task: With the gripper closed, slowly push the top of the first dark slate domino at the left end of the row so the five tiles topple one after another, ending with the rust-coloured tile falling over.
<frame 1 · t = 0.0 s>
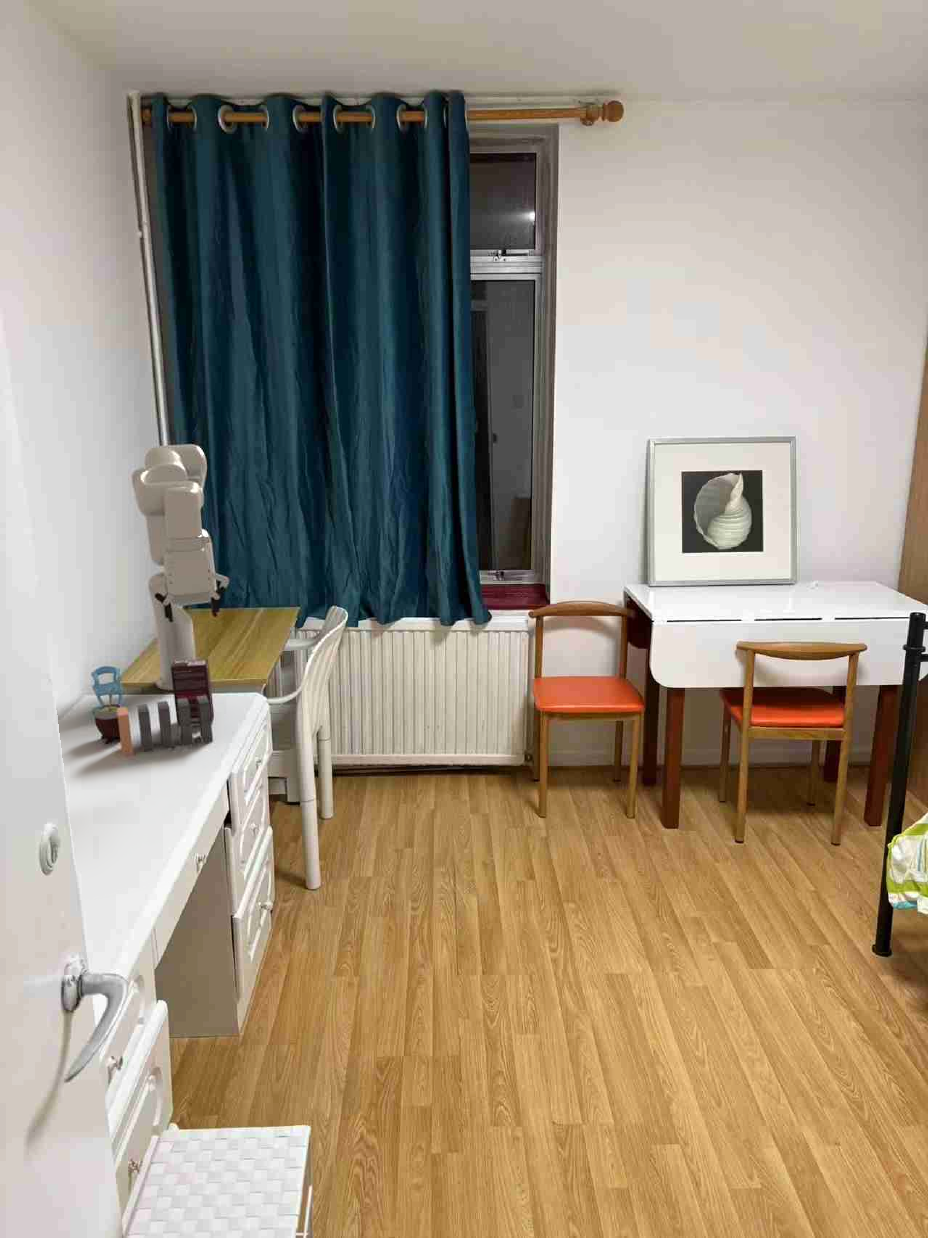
hand: (192, 618, 216), 31 cm above the table, fingers open, 9 cm apart
domino 3: (167, 744, 226), on the table
domino 4: (147, 748, 224), on the table
domino 5 rust: (127, 751, 222), on the table
chair: (111, 713, 244), on the table
supplement box: (195, 723, 238), on the table
domino 2: (187, 741, 227), on the table
mate gourd: (114, 740, 229), on the table
domino 1: (206, 738, 229), on the table
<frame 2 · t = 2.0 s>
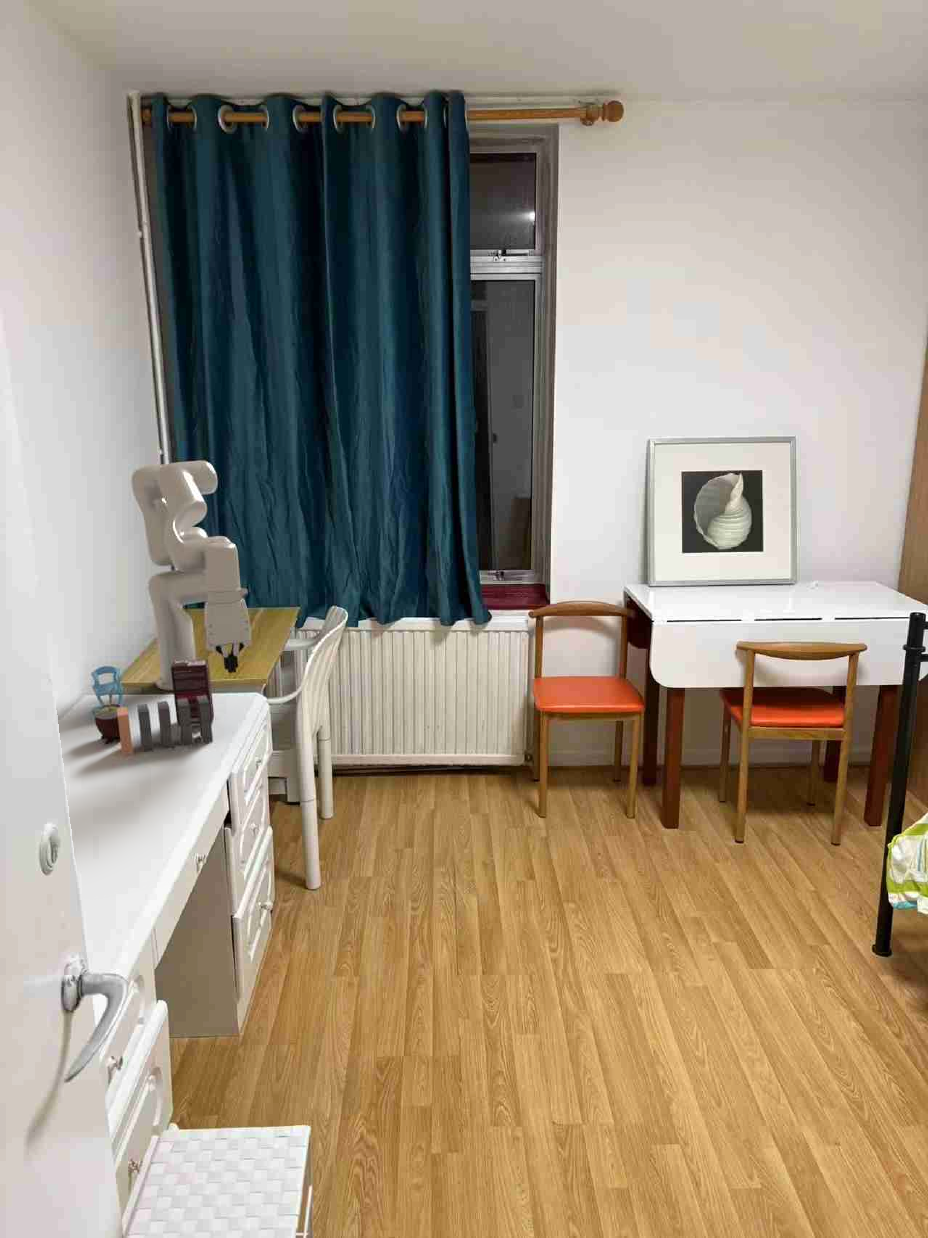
hand: (231, 671, 226), 16 cm above the table, fingers closed
nothing on the table moved.
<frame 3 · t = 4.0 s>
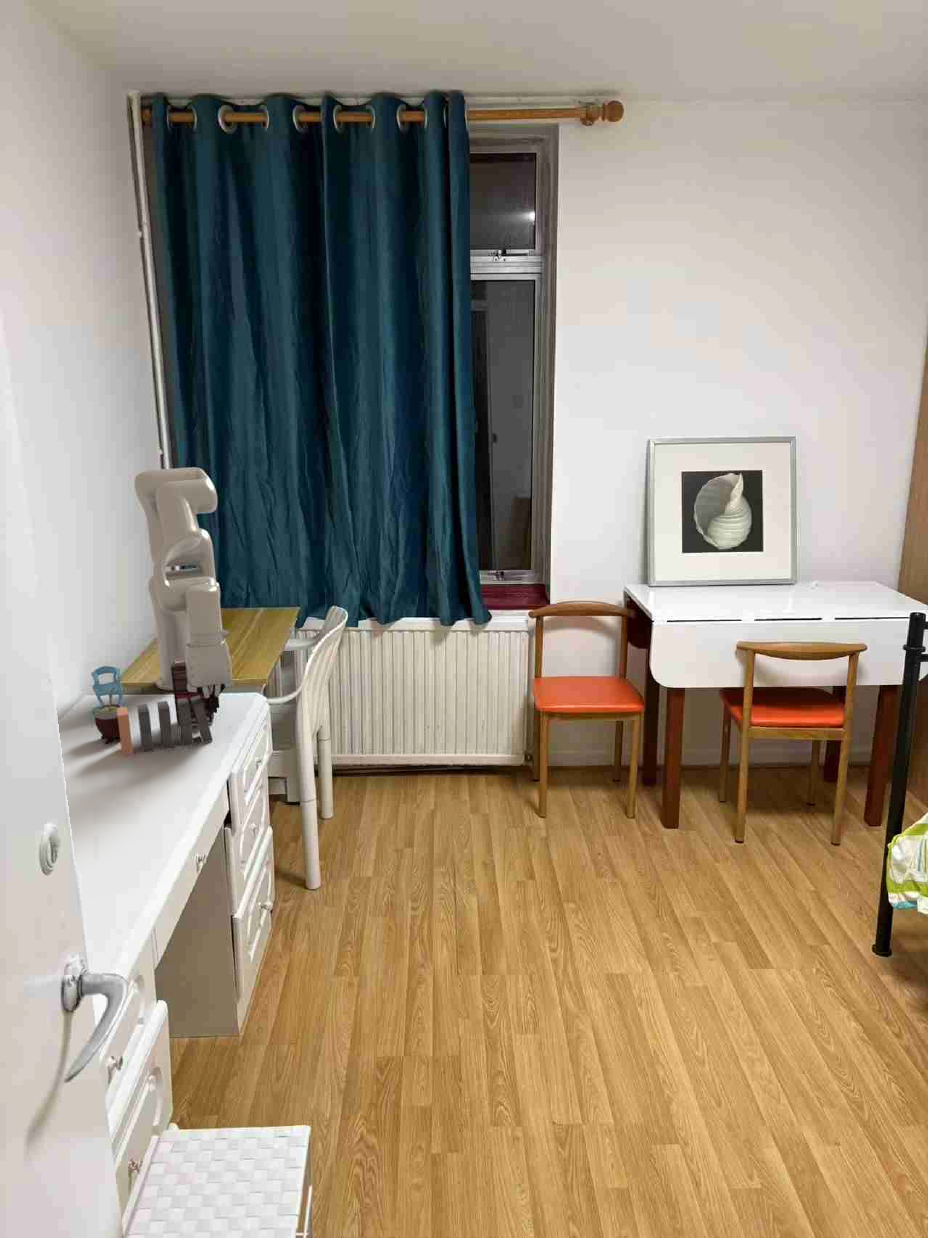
hand: (212, 711, 228), 7 cm above the table, fingers closed
domino 1: (206, 737, 229), on the table, tilted 9°
everything else where it was.
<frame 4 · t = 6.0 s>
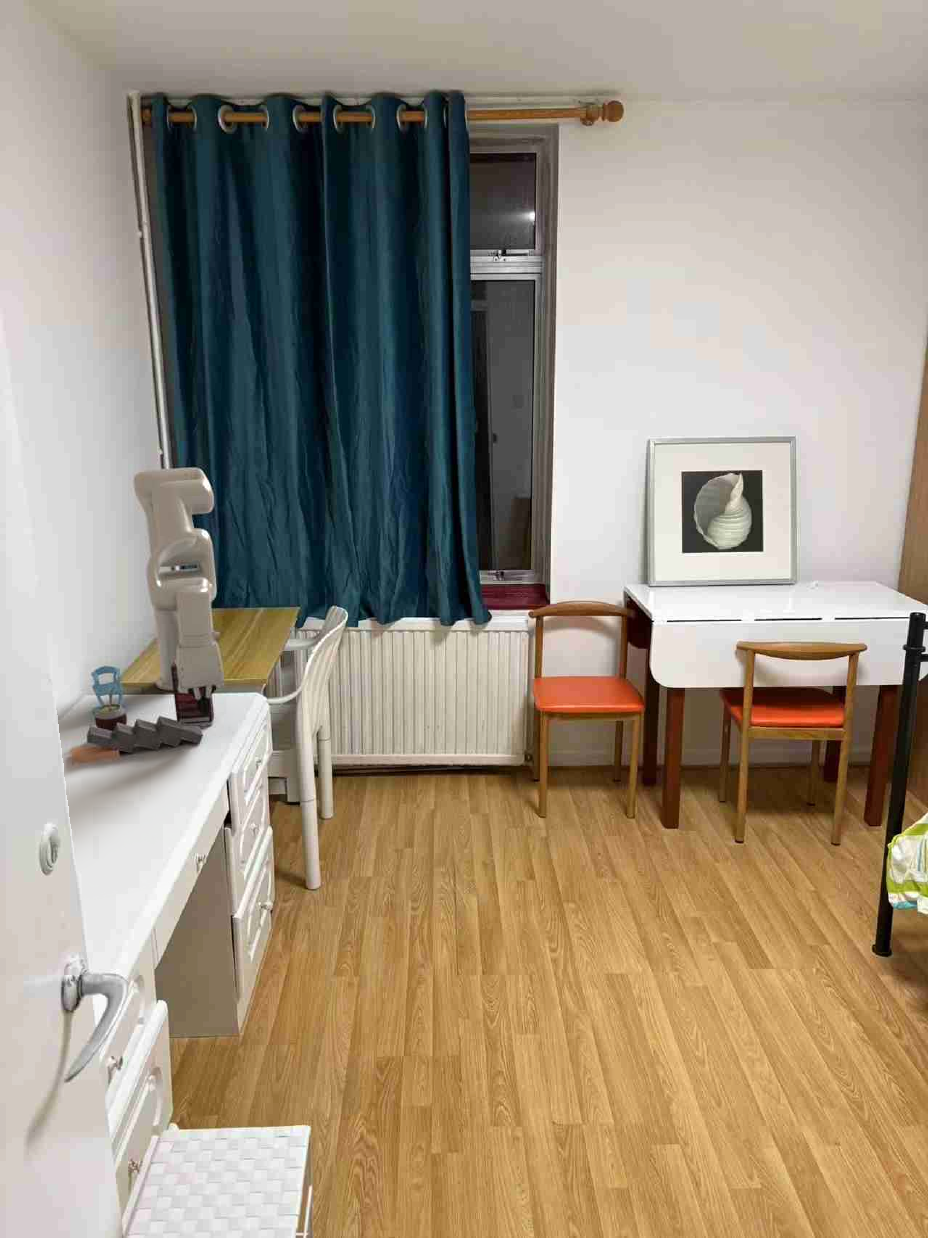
hand: (204, 712, 227), 7 cm above the table, fingers closed
domino 3: (158, 742, 224), point 1 cm above the table, tilted 63°, touching domino 2, domino 4
domino 4: (132, 744, 222), point 1 cm above the table, tilted 65°, touching domino 3, domino 5 rust
domino 5 rust: (118, 750, 221), on the table, tilted 90°, touching domino 4
domino 2: (177, 738, 226), point 1 cm above the table, tilted 63°, touching domino 1, domino 3
domino 1: (199, 735, 228), point 1 cm above the table, tilted 63°, touching domino 2
everything else where it was.
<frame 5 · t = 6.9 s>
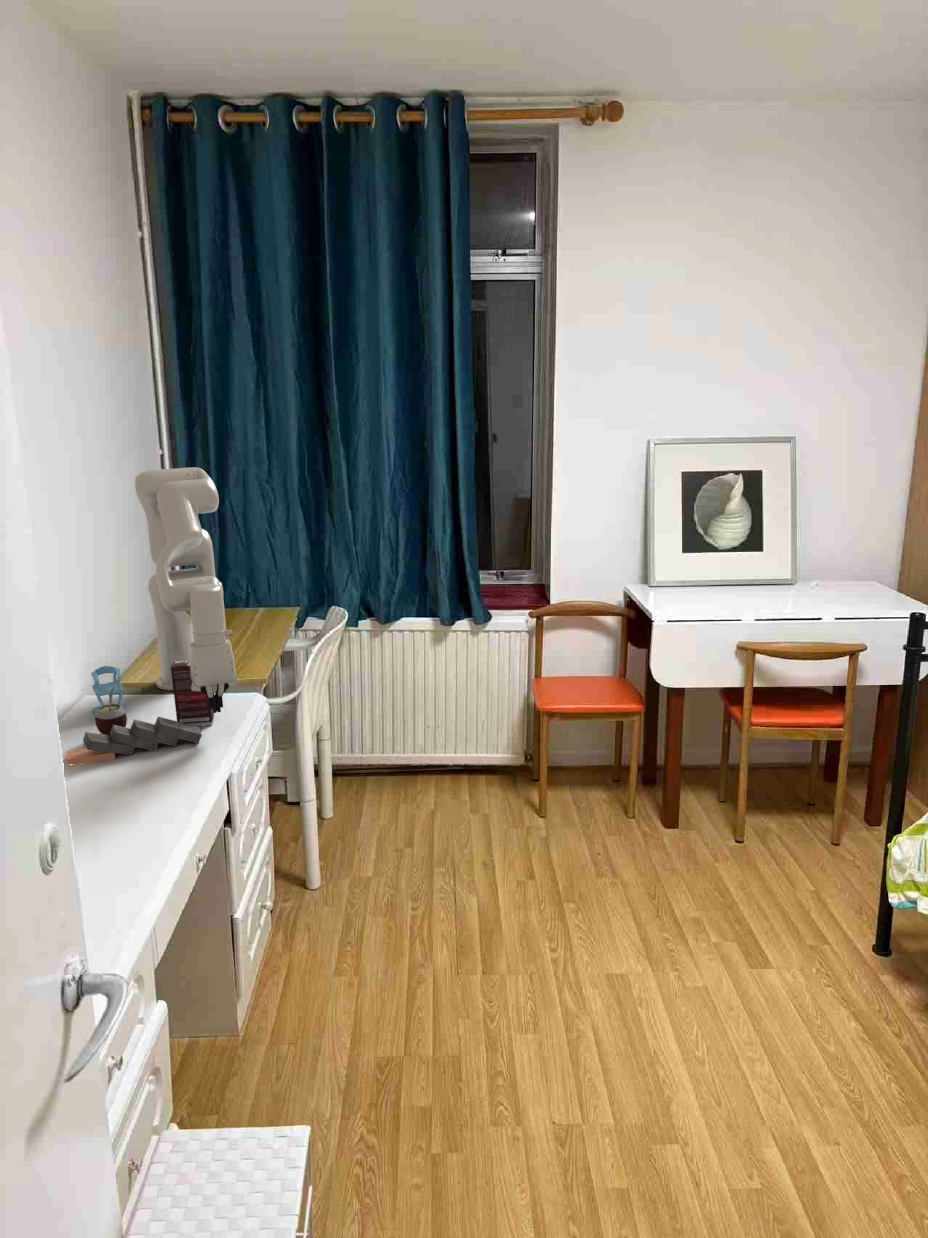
hand: (216, 710, 228), 7 cm above the table, fingers closed
domino 4: (130, 746, 222), point 1 cm above the table, tilted 68°, touching domino 3, domino 5 rust
domino 5 rust: (114, 752, 221), on the table, tilted 90°, touching domino 4
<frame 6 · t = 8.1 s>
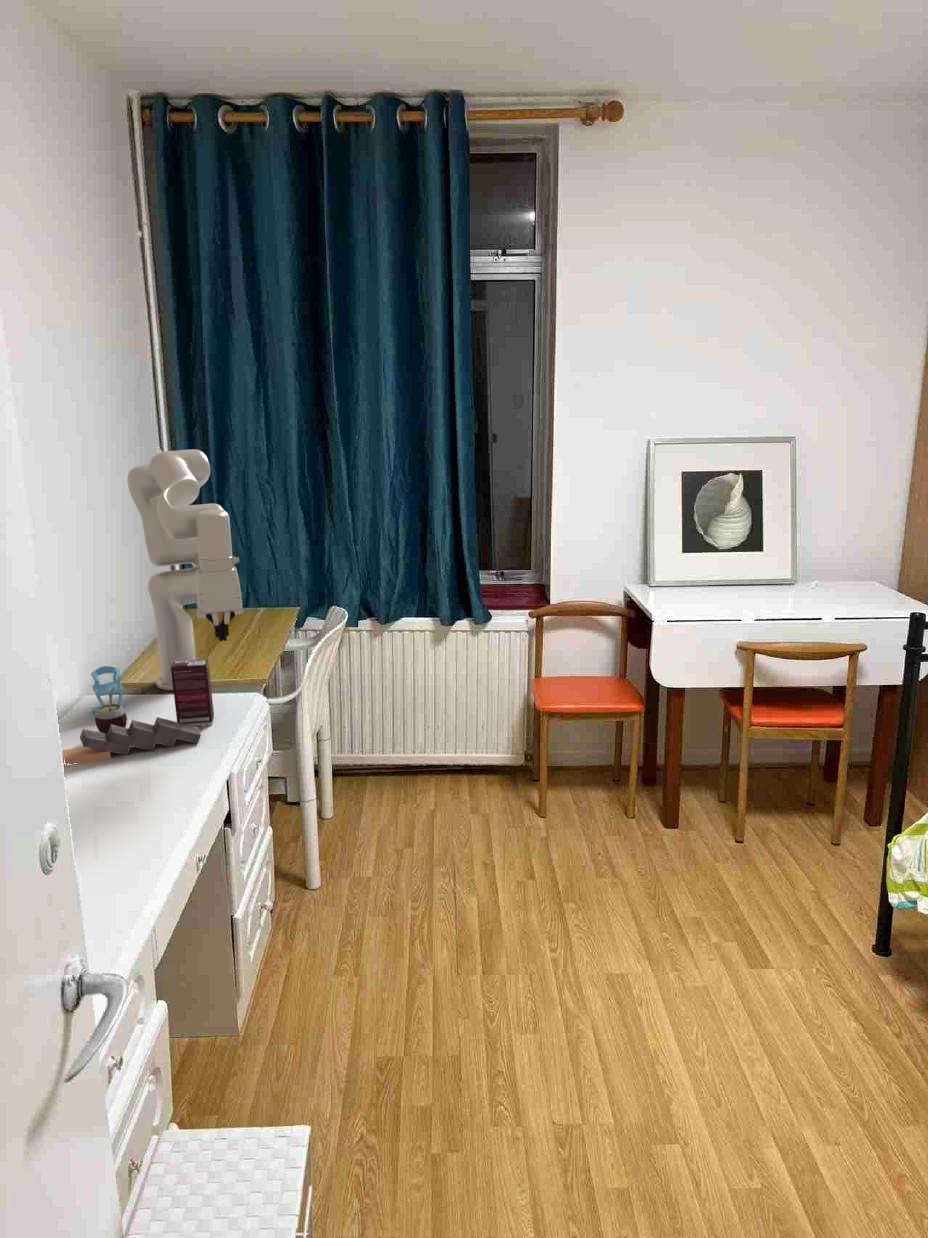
hand: (222, 639, 226), 23 cm above the table, fingers closed
domino 3: (153, 743, 224), point 1 cm above the table, tilted 65°, touching domino 2
domino 4: (126, 746, 222), point 1 cm above the table, tilted 65°
domino 5 rust: (109, 751, 221), point 1 cm above the table, tilted 90°
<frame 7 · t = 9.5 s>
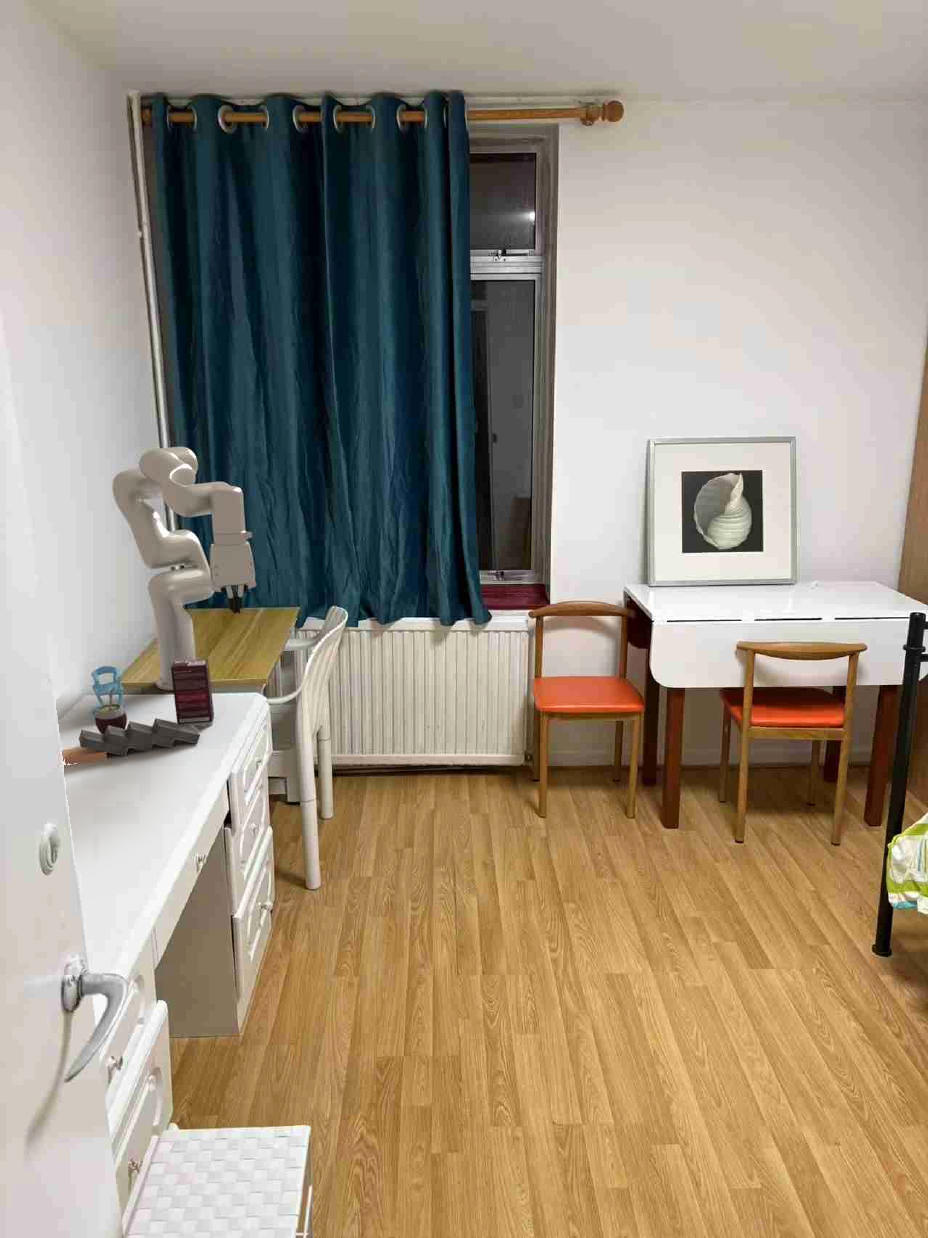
hand: (236, 611, 235), 27 cm above the table, fingers closed
domino 4: (125, 747, 222), point 1 cm above the table, tilted 65°, touching domino 5 rust
domino 5 rust: (106, 752, 220), point 1 cm above the table, tilted 90°, touching domino 4
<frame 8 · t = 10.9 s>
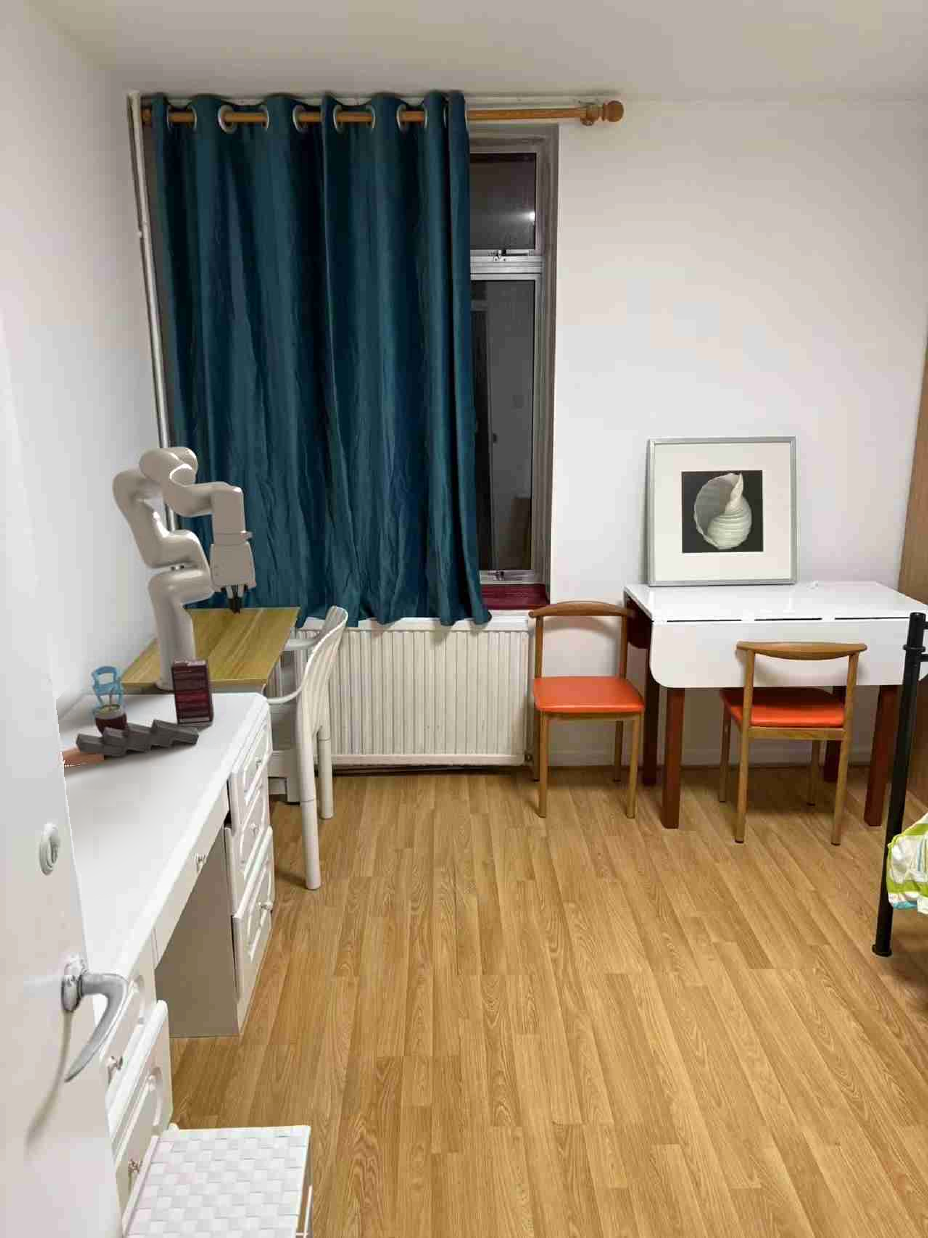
hand: (236, 611, 235), 27 cm above the table, fingers closed
domino 3: (148, 744, 224), point 1 cm above the table, tilted 66°, touching domino 2, domino 4
domino 4: (123, 748, 221), point 1 cm above the table, tilted 67°, touching domino 3, domino 5 rust
at the end: domino 5 rust tilted 90°; domino 1 tilted 66° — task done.
